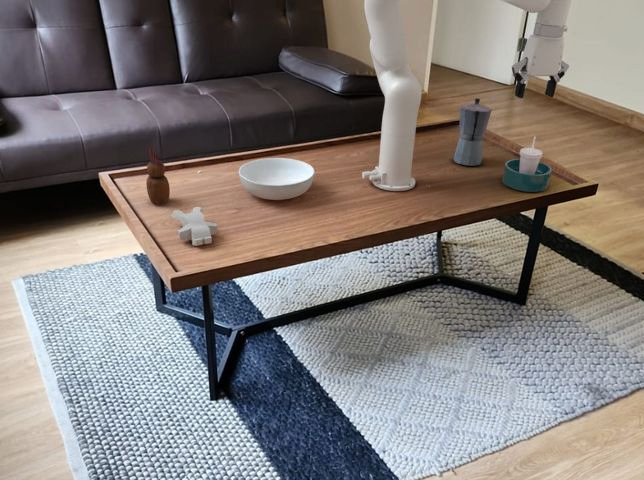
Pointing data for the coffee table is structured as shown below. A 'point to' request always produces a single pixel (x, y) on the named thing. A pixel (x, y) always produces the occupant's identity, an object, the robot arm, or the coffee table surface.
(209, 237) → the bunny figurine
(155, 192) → the wooden figurine
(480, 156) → the moka pot
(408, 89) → the robot arm
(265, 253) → the coffee table surface
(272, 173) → the serving bowl
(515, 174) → the bowl
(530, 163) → the smoothie
